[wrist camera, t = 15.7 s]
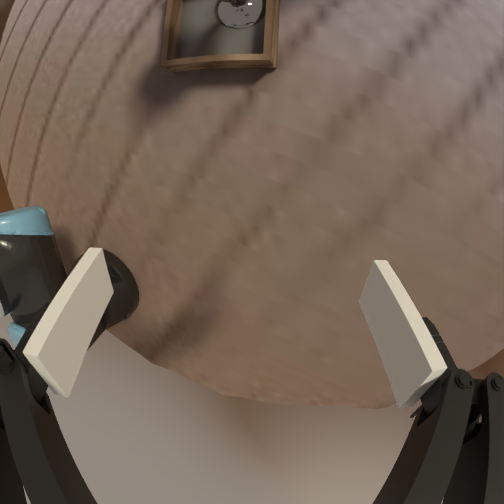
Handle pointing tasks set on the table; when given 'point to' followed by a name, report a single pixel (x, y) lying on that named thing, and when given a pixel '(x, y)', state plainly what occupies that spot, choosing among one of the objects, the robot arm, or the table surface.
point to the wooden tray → (216, 38)
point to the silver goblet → (240, 12)
